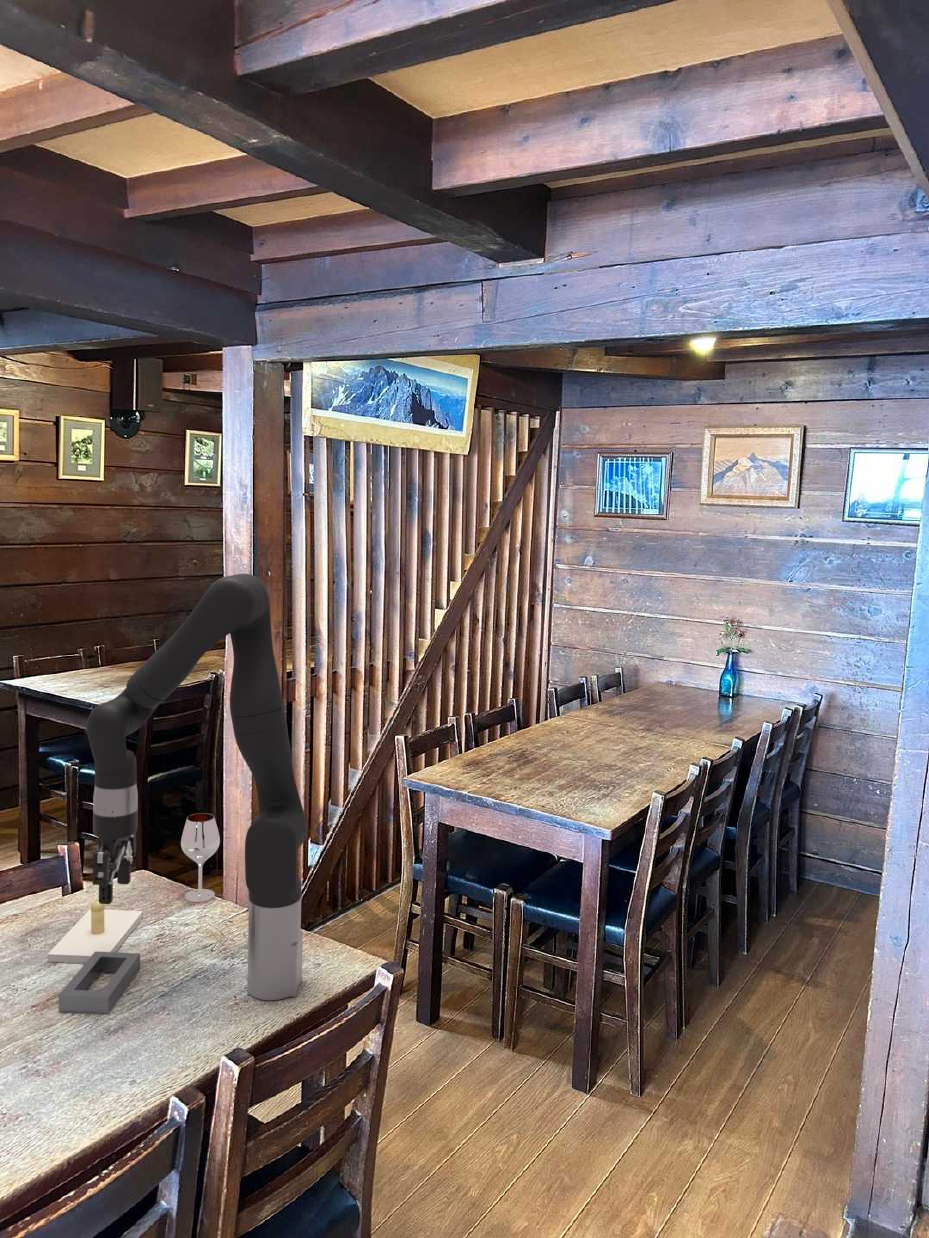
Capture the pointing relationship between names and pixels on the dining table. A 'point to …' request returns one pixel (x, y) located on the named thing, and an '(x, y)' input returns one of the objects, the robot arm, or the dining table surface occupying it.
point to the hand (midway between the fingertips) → (115, 892)
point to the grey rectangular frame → (95, 1001)
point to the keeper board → (95, 934)
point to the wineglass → (200, 848)
